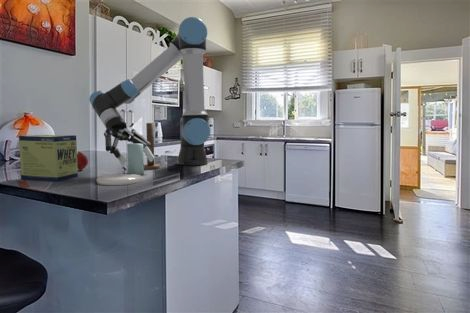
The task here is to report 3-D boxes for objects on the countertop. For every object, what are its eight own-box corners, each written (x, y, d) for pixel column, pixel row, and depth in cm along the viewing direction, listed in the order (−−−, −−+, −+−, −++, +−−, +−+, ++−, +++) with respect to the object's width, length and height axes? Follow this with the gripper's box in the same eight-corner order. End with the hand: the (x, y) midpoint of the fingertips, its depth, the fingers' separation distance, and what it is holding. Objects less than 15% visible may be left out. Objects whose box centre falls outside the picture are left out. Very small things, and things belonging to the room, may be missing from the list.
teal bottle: (137, 172, 129) (137, 143, 128) (147, 174, 125) (146, 143, 124) (124, 174, 124) (124, 143, 123) (133, 176, 121) (133, 144, 119)
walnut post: (152, 166, 147) (151, 123, 145) (163, 167, 142) (163, 123, 140) (137, 168, 140) (136, 123, 138) (149, 170, 136) (148, 123, 133)
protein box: (57, 181, 108) (55, 136, 106) (20, 179, 112) (17, 135, 110) (79, 176, 118) (77, 135, 116) (44, 174, 122) (42, 134, 120)
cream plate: (126, 175, 121) (126, 172, 121) (151, 180, 112) (151, 177, 112) (88, 181, 109) (88, 178, 109) (112, 187, 100) (112, 183, 100)
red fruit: (81, 168, 137) (80, 150, 136) (91, 169, 135) (90, 151, 134) (69, 170, 132) (69, 151, 131) (80, 171, 130) (79, 152, 129)
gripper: (134, 128, 141) (158, 164, 135) (81, 129, 121) (107, 171, 114) (142, 116, 138) (167, 152, 132) (89, 115, 117) (116, 158, 111)
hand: (139, 161), depth 123 cm, fingers open, 13 cm apart
